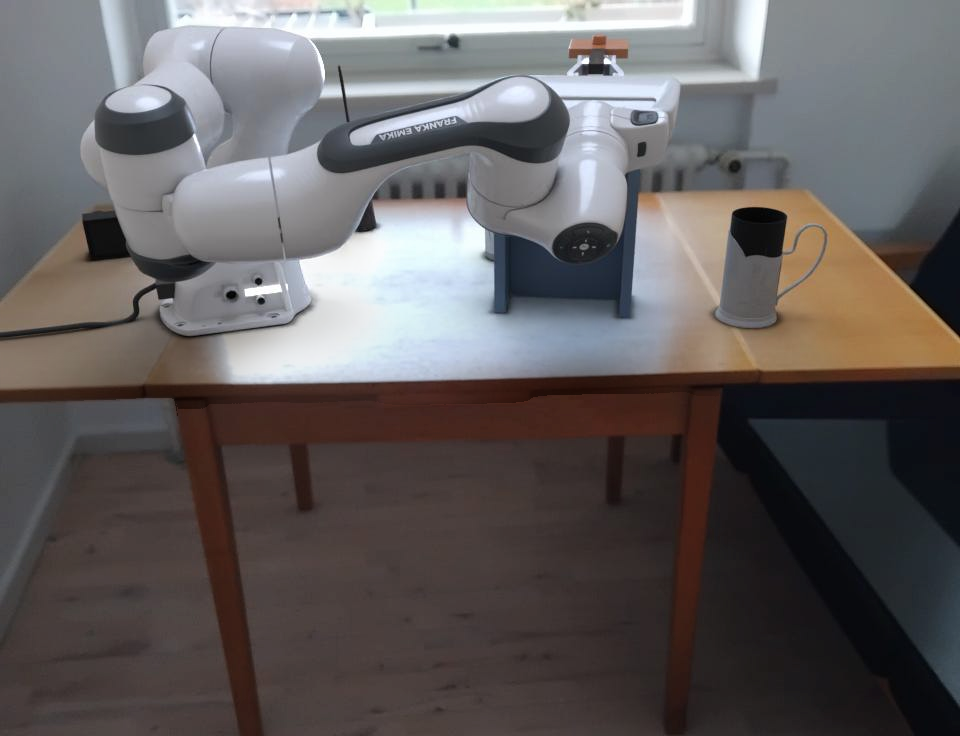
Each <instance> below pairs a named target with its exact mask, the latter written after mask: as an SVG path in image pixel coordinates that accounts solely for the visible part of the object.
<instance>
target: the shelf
mask: <svg viewBox="0 0 960 736" xmlns="http://www.w3.org/2000/svg"><path fill="white" fill-rule="evenodd" d="M640 178H641V169H637V170H633V171H630V172H627V173H626V174H625V179H626V182H627V203H626V213H625V219H624V225H623V229H622V233H621V235H620V238H619V240H618V242H617V244H616V245H615V247H614V248H613V249H612V250H611V251H610V252H609V253H608V254H607V255H606V256H604V257H603V258H601V259H599V260H597V261H595V262H592V263H588V264H581V265H575V264H568V263H564V262H562V261H559V260H558V259H556V258H555V257H554V256H553V255H551V254H550V252H549V251H548V250H546V249H545V248H544V247H543V246H541V245H539V244H537V243H535V242H533V241H530V240H528V239H525V238H522V237H510V236H502V235H498V234H494V260H493V303H494V304H493V305H494V308H493V309H494V311H493V313H498V314H499V313H500V314H501V313H503V314H505V313H506V310H507V307H508V304H509V300H510V296H521V297H522V296H523V297H524V296H525V297H548V298H549V297H551V298H552V297H553V298H577V299H579V298H580V299H581V298H582V299H607V300H609V299H610V300H619V310H618V311H619V312H618V318H628V319H630V318H631V310H632V298H633V297H632V296H633V282H634V265H635V253H636V252H635V251H636V238H637V224H638V223H637V222H638V211H639V210H638V209H639V195H640V194H639V193H640V180H641V179H640Z"/></svg>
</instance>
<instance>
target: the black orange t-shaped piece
mask: <svg viewBox="0 0 960 736" xmlns="http://www.w3.org/2000/svg"><path fill="white" fill-rule="evenodd" d="M567 55H568V56H567V57H568V59H578V55H590V60H589V65H588V74H589V75H603V72H604V56H612V55H616V60H617V59H629V38H607V35H606V34H601V33H600V34H597V33H596V34H593V35H592V38H571V40H570V43H569V46H568V54H567Z"/></svg>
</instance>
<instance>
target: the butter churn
mask: <svg viewBox="0 0 960 736" xmlns="http://www.w3.org/2000/svg"><path fill="white" fill-rule="evenodd" d="M341 68H342V67H341V65H340V64H338V66H337V72H338V77H339V83H340V84H339V85H340V88H341V94H342V95H341V96H342V101H343V106H344V113H345V119H346V123H347V122H350V121H351V120H350V114H349V108H348V103H347V95H346V89H345V83H344V82H345V81H344V77H343V72H342V69H341ZM377 225H378V224H377V220H376V214H375V209H374V202H373V197H372V198H371V200H370V202H369V203H368V205H367V207H366V209H365V212H364V214H363V216H362V219H361V221H360V223H359V225H358V227H357V229H356V230H355V232H362V231H369V230H372V229H373V228H376V227H377Z"/></svg>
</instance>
